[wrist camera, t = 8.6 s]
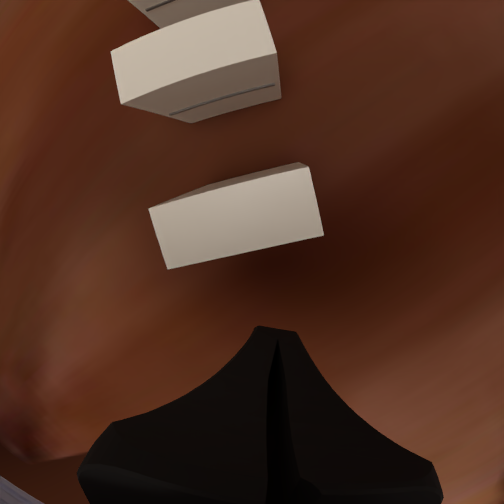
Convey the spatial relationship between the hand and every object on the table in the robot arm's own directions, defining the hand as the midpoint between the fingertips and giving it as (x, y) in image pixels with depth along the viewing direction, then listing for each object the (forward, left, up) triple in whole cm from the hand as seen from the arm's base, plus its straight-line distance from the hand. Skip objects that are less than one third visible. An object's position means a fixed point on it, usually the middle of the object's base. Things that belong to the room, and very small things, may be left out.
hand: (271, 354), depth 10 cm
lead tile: (+4, -2, -6) cm, 8 cm away
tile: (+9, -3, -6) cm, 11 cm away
